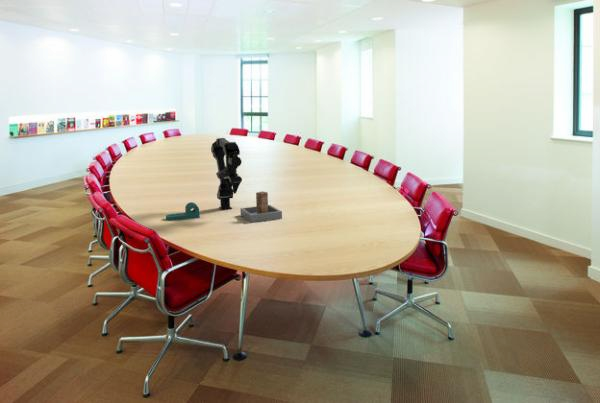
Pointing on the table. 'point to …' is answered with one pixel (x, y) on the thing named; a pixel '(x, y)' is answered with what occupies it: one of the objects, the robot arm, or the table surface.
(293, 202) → the table surface
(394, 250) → the table surface
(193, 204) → the bracket
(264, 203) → the brown tall block
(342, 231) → the table surface
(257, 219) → the box
